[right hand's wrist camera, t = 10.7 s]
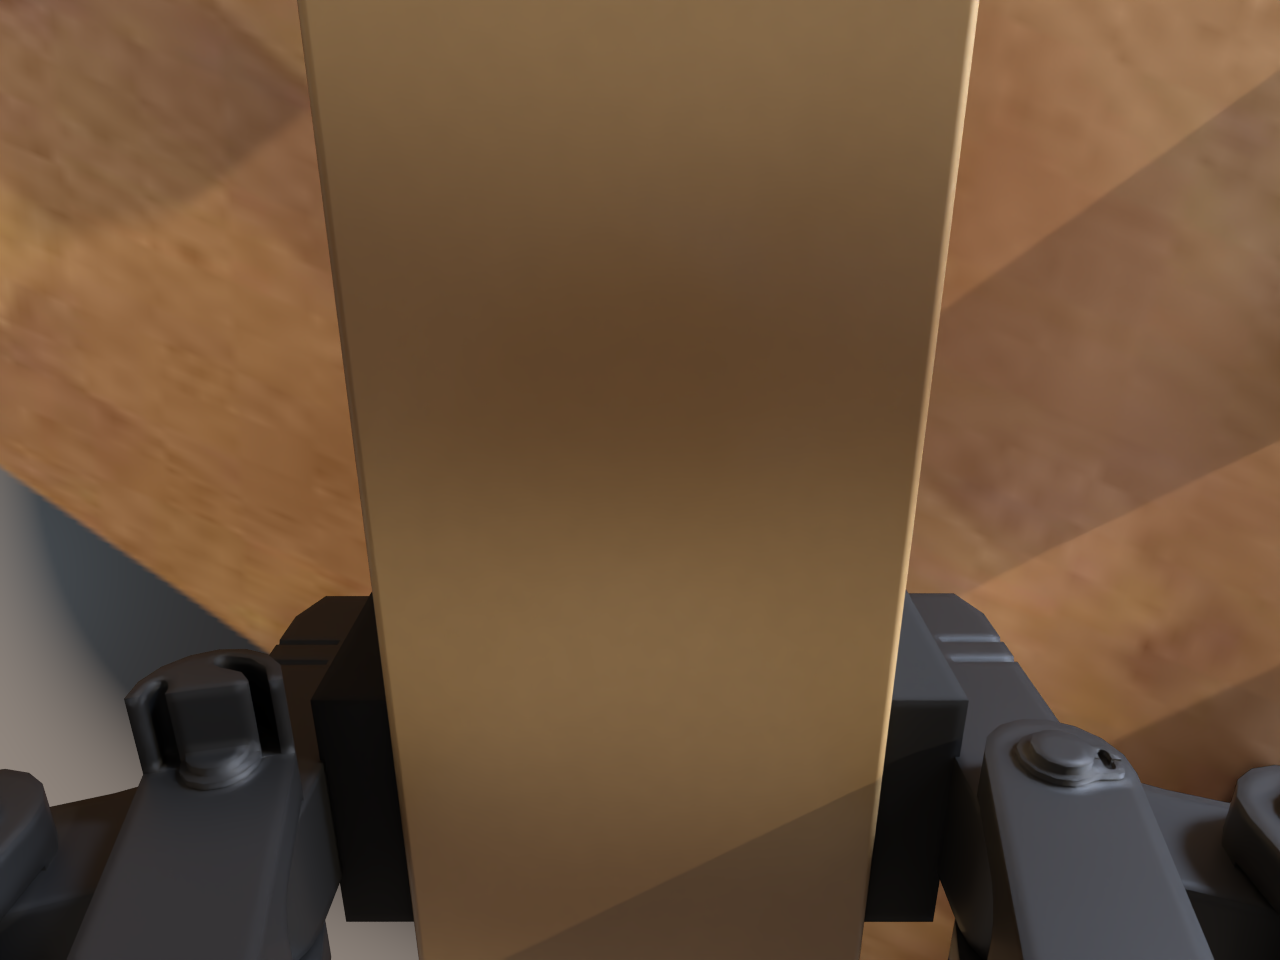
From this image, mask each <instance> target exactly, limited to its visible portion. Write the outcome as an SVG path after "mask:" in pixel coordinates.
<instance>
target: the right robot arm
mask: <svg viewBox="0 0 1280 960" xmlns="http://www.w3.org/2000/svg"><path fill="white" fill-rule="evenodd" d="M124 700H125V704H126V708H127V712H128V716H129V720H130V724H131V728H132V732H133V736H134V740H135V744H136V747H137V751H138V755H139V759H140V763H141V767H142V771H143V776H142V779H141V781H140V784H139V786H138V787H135V788H132V789H128V790H125V791H121V792H118V793H114V794H109V795H104V796H100V797H95V798H90V799H85V800H81V801H76V802H71V803H67V804H62V805H57V806H52V807H49V803H48V800H47V797H46V794H45V791H44V787H43V784H42V783H41V782H40V781H38V780H37V779H36V778H35V777H33V776H32V775H31V774H30V773H27V772H20V771H14V770H8V769H1V770H0V960H331V953H330V946H329V940H328V934H327V928H326V923H325V919H326V916H327V914H328V911H329V909H330V906H331V904H332V901H333V898H334V896H335V893H336V891H337V888H338V886H339V883H340V886H341V892H342V898H343V904H344V910H345V916H346V921H347V922H414V916H413V908H412V901H411V893H410V885H409V877H408V869H407V861H406V853H405V846H404V838H403V830H402V822H401V814H400V806H399V798H398V790H397V783H396V775H395V767H394V759H393V751H392V743H391V735H390V727H389V720H388V712H387V704H386V696H385V688H384V680H383V672H382V665H381V657H380V649H379V641H378V633H377V625H376V617H375V609H374V602H373V594H372V592H371V594H370V596H326V597H324V598H323V599H321V600H320V601H318V602H317V603H315V604H314V605H312V606H311V607H309V608H308V609H306V610H305V611H303V612H302V613H301V614H299V615H298V616H296V617H295V619H294V620H293V622H292V623H291V625H290V626H289V627H288V629H287V630H286V632H285V633H284V635H283V636H282V638H281V639H280V644H279V645H276V646H275V648H274V649H273V651H272V652H271V653H270V655H268V654H264V653H260V652H256V651H252V650H248V649H225V650H215V651H210V652H205V653H200V654H196V655H191V656H188V657H185V658H183V659H180V660H178V661H175V662H173V663H170V664H167V665H165V666H162V667H160V668H159V669H157V670H156V671H154V672H153V673H151V674H150V675H148V676H147V677H145V678H143V679H142V680H140V681H139V682H138V683H137V684H136V685H135V686H134V688H133V689H132V690H131V691H130V692H129V694H128V695H127V696H126V697H125V698H124ZM939 881H941V883H942V886H943V889H944V891H945V894H946V896H947V899H948V901H949V904H950V906H951V909H952V911H953V914H954V916H955V923H954V928H953V934H952V940H951V945H950V951H949V957H948V960H1280V766H1279V765H1272V766H1266V767H1260V768H1254V769H1251V770H1249V771H1248V772H1247V773H1246V774H1244V775H1243V776H1242V777H1241V778H1239V779H1238V781H1237V784H1236V787H1235V791H1234V794H1233V797H1232V800H1231V803H1227V802H1222V801H1217V800H1212V799H1208V798H1203V797H1198V796H1193V795H1189V794H1184V793H1179V792H1174V791H1170V790H1165V789H1161V788H1158V787H1154V786H1150V785H1147V784H1143V783H1141V782H1140V780H1139V777H1138V775H1137V773H1136V771H1135V770H1134V769H1133V767H1132V766H1131V764H1130V763H1129V762H1128V760H1127V759H1126V757H1125V756H1124V755H1123V754H1122V753H1121V752H1119V751H1118V750H1117V749H1115V748H1114V747H1113V746H1111V745H1110V744H1108V743H1107V742H1106V741H1104V740H1103V739H1102V738H1100V737H1097V736H1095V735H1093V734H1091V733H1088V732H1086V731H1084V730H1082V729H1080V728H1077V727H1075V726H1071V725H1067V724H1063V723H1059V721H1058V720H1057V718H1056V717H1055V715H1054V714H1053V713H1052V711H1051V710H1050V708H1049V707H1048V705H1047V704H1046V702H1045V701H1044V700H1043V698H1042V697H1041V695H1040V694H1039V692H1038V691H1037V690H1036V688H1035V687H1034V685H1033V684H1032V682H1031V681H1030V680H1029V678H1028V677H1027V675H1026V674H1025V672H1024V671H1023V670H1022V668H1021V667H1020V665H1019V664H1018V662H1014V657H1013V655H1012V654H1011V652H1010V651H1009V649H1008V648H1007V647H1006V645H1005V644H1004V642H1000V637H999V635H998V634H997V632H996V631H995V629H994V628H993V627H992V625H991V624H990V622H989V621H988V619H987V618H986V616H985V615H984V614H983V613H982V612H980V611H979V610H977V609H976V608H974V607H973V606H971V605H970V604H968V603H967V602H965V601H964V600H962V599H961V598H960V597H958V596H957V595H955V594H954V593H908V592H907V591H905V599H904V607H903V615H902V623H901V631H900V639H899V647H898V655H897V663H896V671H895V679H894V687H893V695H892V703H891V711H890V719H889V727H888V735H887V743H886V751H885V759H884V767H883V775H882V783H881V791H880V799H879V807H878V815H877V823H876V831H875V839H874V847H873V855H872V863H871V871H870V879H869V887H868V895H867V903H866V911H865V919H864V922H933V918H934V912H935V906H936V900H937V893H938V887H939Z"/></svg>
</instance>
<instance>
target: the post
mask: <svg viewBox="0 0 1280 960" xmlns="http://www.w3.org/2000/svg"><path fill="white" fill-rule="evenodd" d="M297 4H298V11H299V19H300V27H301V35H302V43H303V51H304V59H305V66H306V74H307V82H308V90H309V98H310V106H311V114H312V122H313V129H314V137H315V145H316V153H317V161H318V169H319V177H320V184H321V192H322V200H323V208H324V216H325V224H326V232H327V240H328V247H329V255H330V263H331V271H332V279H333V287H334V295H335V303H336V310H337V318H338V326H339V334H340V342H341V350H342V358H343V365H344V373H345V381H346V389H347V397H348V405H349V413H350V421H351V428H352V436H353V444H354V452H355V460H356V468H357V476H358V484H359V491H360V499H361V507H362V515H363V523H364V531H365V539H366V546H367V554H368V562H369V570H370V578H371V586H372V594H373V602H374V609H375V617H376V625H377V633H378V641H379V649H380V657H381V665H382V672H383V680H384V688H385V696H386V704H387V712H388V720H389V727H390V735H391V743H392V751H393V759H394V767H395V775H396V783H397V790H398V798H399V806H400V814H401V822H402V830H403V838H404V846H405V853H406V861H407V869H408V877H409V885H410V893H411V901H412V908H413V916H414V924H415V932H416V940H417V948H418V956H419V960H859V959H860V951H861V943H862V935H863V927H864V919H865V911H866V903H867V895H868V887H869V879H870V871H871V863H872V855H873V847H874V839H875V831H876V823H877V815H878V807H879V799H880V791H881V783H882V775H883V767H884V759H885V751H886V743H887V735H888V727H889V719H890V711H891V703H892V695H893V687H894V679H895V671H896V663H897V655H898V647H899V639H900V631H901V623H902V615H903V607H904V599H905V591H906V583H907V575H908V567H909V559H910V551H911V543H912V535H913V527H914V519H915V511H916V503H917V495H918V487H919V479H920V471H921V463H922V455H923V447H924V439H925V431H926V423H927V415H928V407H929V399H930V391H931V383H932V375H933V367H934V359H935V351H936V343H937V335H938V327H939V319H940V311H941V303H942V295H943V287H944V279H945V271H946V263H947V255H948V247H949V239H950V231H951V223H952V215H953V207H954V199H955V191H956V183H957V175H958V167H959V159H960V151H961V143H962V135H963V127H964V119H965V111H966V103H967V95H968V87H969V79H970V71H971V63H972V55H973V47H974V39H975V30H976V23H977V14H978V6H979V0H297Z"/></svg>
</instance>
